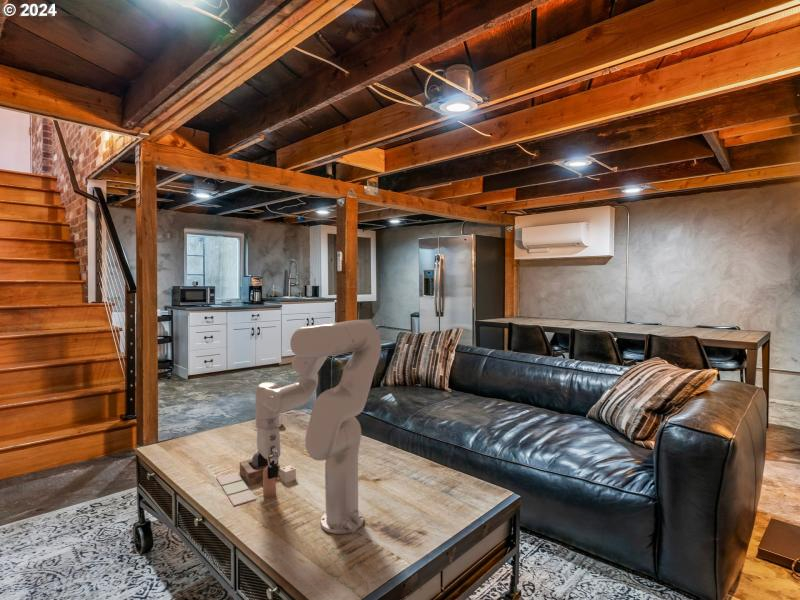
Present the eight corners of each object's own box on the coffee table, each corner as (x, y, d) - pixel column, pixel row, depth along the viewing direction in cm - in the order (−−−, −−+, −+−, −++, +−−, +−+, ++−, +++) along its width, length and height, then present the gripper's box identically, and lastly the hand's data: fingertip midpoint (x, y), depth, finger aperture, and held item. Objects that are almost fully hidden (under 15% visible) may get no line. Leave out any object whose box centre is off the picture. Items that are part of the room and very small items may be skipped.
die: (295, 479, 154) (295, 468, 154) (286, 483, 151) (285, 471, 151) (289, 475, 157) (289, 464, 157) (280, 479, 154) (279, 468, 154)
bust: (284, 431, 207) (295, 409, 212) (274, 425, 201) (285, 403, 207) (267, 426, 213) (278, 405, 218) (257, 421, 208) (268, 399, 213)
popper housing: (279, 476, 157) (279, 465, 156) (248, 484, 150) (248, 473, 150) (269, 465, 166) (269, 454, 165) (239, 472, 159) (239, 462, 159)
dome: (268, 469, 157) (268, 452, 157) (254, 472, 154) (254, 456, 154) (264, 464, 161) (263, 448, 161) (250, 467, 158) (250, 451, 158)
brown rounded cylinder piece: (277, 495, 143) (277, 467, 142) (265, 499, 141) (265, 470, 140) (273, 490, 146) (272, 463, 146) (261, 494, 144) (261, 466, 143)
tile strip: (256, 499, 140) (256, 498, 140) (234, 506, 136) (234, 505, 136) (236, 473, 159) (236, 472, 159) (216, 478, 155) (216, 477, 155)
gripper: (288, 427, 137) (288, 479, 138) (270, 411, 151) (269, 459, 152) (265, 432, 133) (264, 485, 134) (248, 415, 147) (248, 464, 148)
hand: (267, 471), depth 143 cm, fingers open, 9 cm apart
